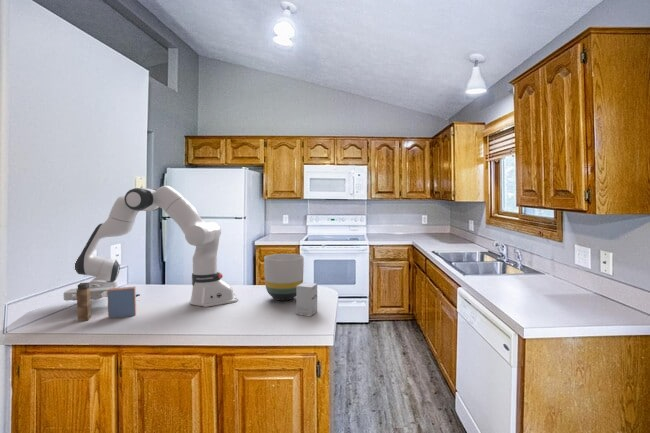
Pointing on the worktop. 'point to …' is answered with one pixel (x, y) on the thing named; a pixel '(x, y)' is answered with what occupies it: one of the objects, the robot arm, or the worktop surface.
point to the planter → (283, 275)
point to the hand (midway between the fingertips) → (87, 297)
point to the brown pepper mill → (83, 302)
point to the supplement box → (306, 298)
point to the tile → (121, 302)
